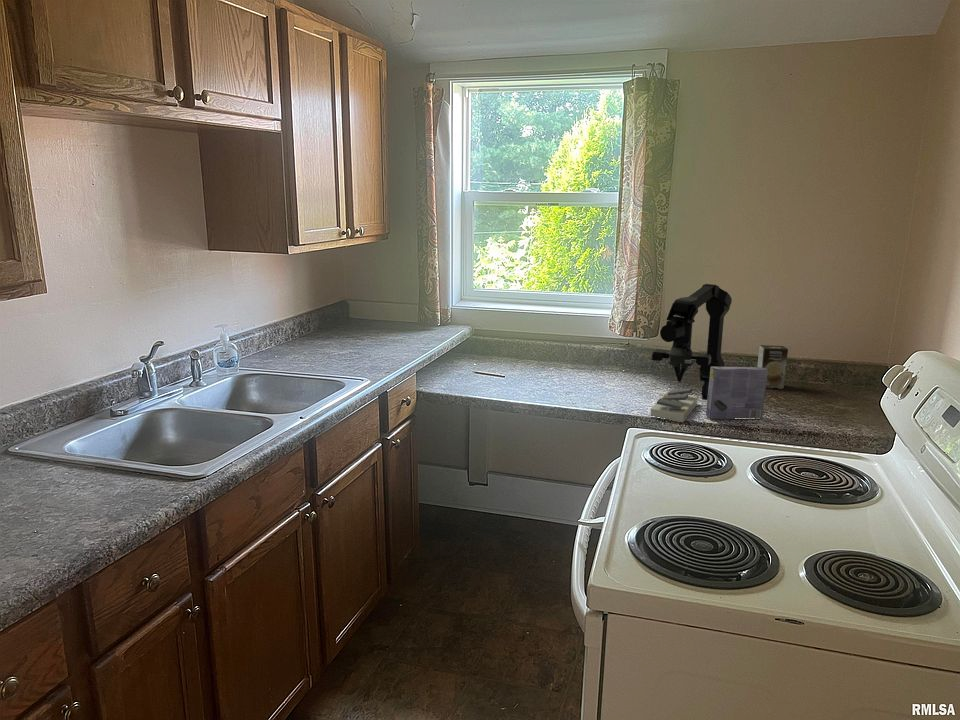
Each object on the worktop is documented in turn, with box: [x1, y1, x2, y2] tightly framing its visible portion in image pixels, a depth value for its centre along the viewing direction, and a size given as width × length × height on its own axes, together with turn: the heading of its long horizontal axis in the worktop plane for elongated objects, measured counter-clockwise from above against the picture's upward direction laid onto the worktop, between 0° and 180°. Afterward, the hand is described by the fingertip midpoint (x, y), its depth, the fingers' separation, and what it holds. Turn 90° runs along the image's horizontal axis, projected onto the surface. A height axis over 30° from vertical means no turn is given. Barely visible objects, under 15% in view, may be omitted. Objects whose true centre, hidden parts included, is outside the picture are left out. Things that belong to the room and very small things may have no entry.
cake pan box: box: [705, 366, 768, 420], centre depth 231 cm, size 19×5×18 cm, turn 92°
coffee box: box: [756, 344, 789, 390], centre depth 269 cm, size 9×6×16 cm
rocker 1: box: [667, 387, 693, 395], centre depth 247 cm, size 8×4×1 cm, turn 62°
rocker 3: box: [656, 397, 683, 410], centre depth 233 cm, size 8×4×1 cm, turn 62°
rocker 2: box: [661, 393, 689, 401], centre depth 240 cm, size 8×4×1 cm, turn 62°
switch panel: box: [649, 391, 698, 423], centre depth 240 cm, size 11×23×4 cm, turn 152°
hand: (679, 381), depth 234 cm, fingers closed
